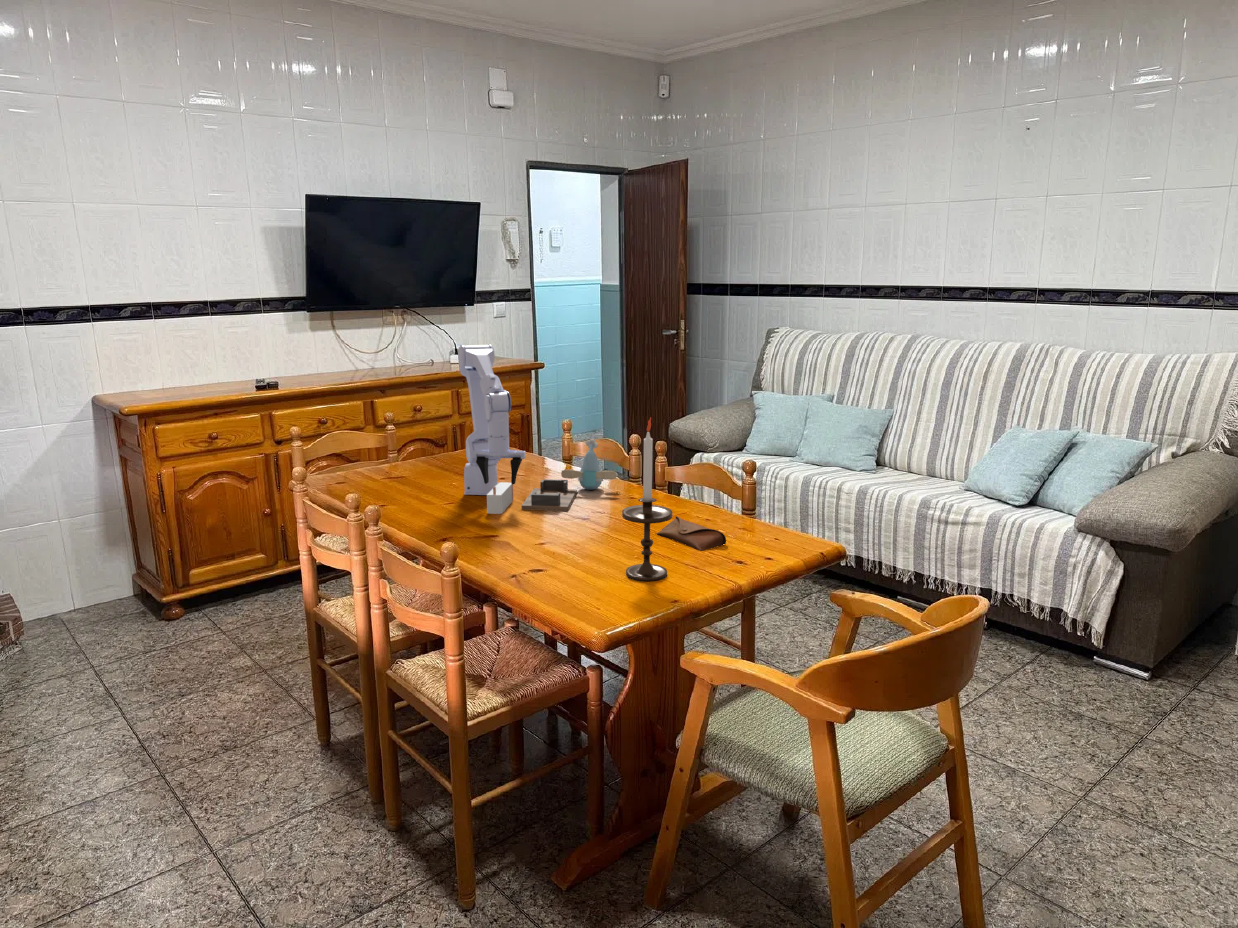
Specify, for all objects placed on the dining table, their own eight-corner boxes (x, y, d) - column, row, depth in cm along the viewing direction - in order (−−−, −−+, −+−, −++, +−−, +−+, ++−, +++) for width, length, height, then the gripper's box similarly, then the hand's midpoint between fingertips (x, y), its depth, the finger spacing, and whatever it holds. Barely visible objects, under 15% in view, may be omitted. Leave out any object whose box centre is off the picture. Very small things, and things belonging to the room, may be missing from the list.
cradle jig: (567, 510, 238) (567, 496, 237) (521, 509, 239) (521, 494, 238) (576, 493, 257) (576, 479, 256) (534, 492, 258) (533, 478, 257)
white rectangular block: (501, 514, 235) (501, 488, 233) (487, 514, 235) (486, 487, 234) (513, 501, 249) (512, 475, 247) (499, 500, 249) (498, 475, 247)
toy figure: (619, 485, 266) (620, 438, 263) (616, 494, 256) (616, 445, 252) (566, 484, 268) (566, 436, 264) (560, 492, 257) (560, 443, 254)
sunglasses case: (652, 533, 218) (662, 509, 219) (669, 542, 222) (679, 518, 223) (702, 551, 204) (713, 525, 205) (719, 560, 209) (730, 535, 210)
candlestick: (647, 562, 196) (649, 411, 189) (681, 575, 189) (684, 418, 181) (611, 573, 190) (612, 417, 182) (645, 587, 182) (647, 424, 174)
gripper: (469, 437, 234) (471, 486, 237) (521, 438, 233) (522, 487, 236) (475, 433, 241) (477, 480, 244) (526, 434, 240) (527, 481, 243)
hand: (500, 483), depth 241 cm, fingers open, 7 cm apart
